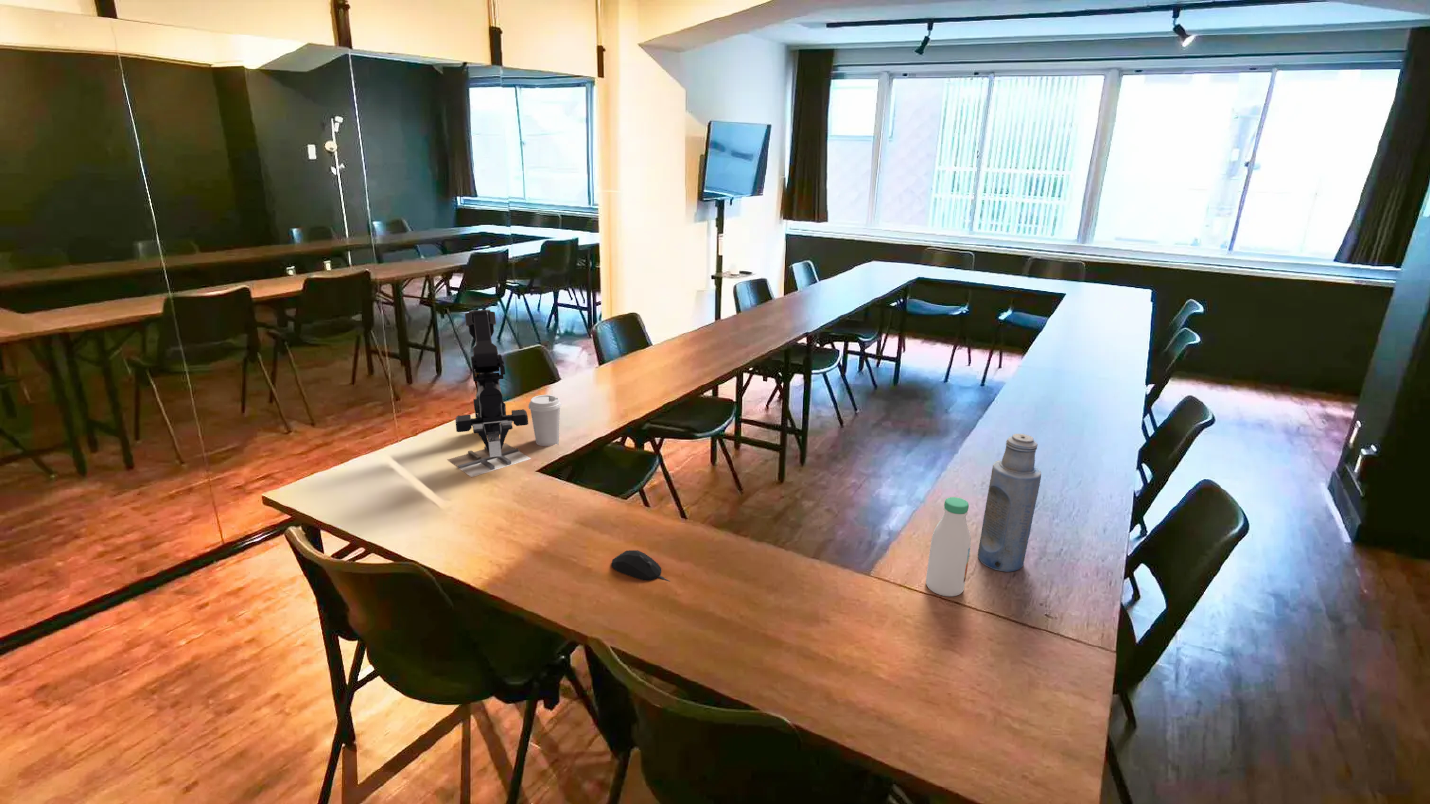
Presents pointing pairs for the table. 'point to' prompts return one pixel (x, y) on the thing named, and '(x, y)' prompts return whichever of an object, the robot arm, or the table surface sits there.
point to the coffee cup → (545, 419)
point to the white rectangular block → (494, 444)
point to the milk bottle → (949, 550)
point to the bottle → (1010, 506)
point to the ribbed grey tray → (488, 460)
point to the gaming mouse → (637, 565)
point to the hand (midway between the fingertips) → (494, 449)
